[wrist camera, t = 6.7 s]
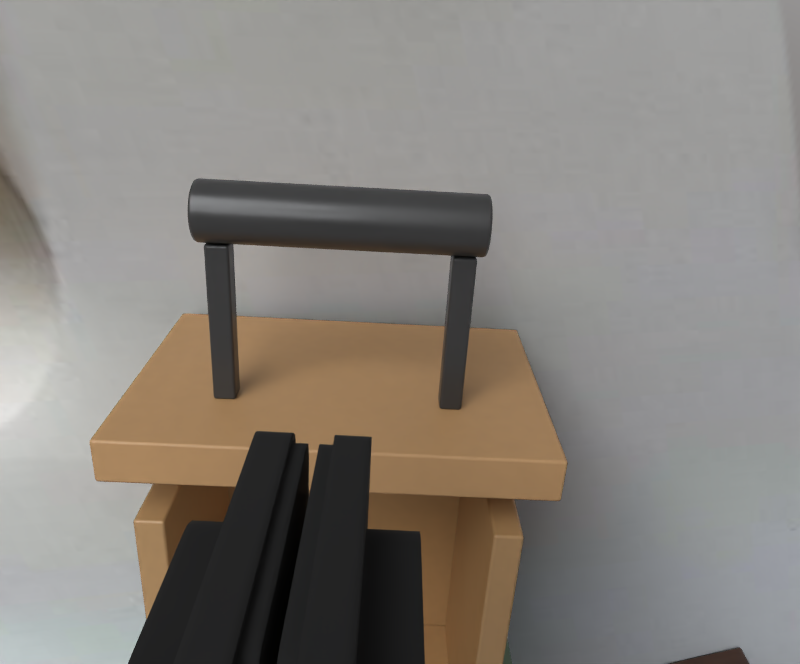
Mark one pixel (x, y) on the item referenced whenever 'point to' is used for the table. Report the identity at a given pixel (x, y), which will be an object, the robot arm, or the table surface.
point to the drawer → (348, 401)
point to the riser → (719, 658)
